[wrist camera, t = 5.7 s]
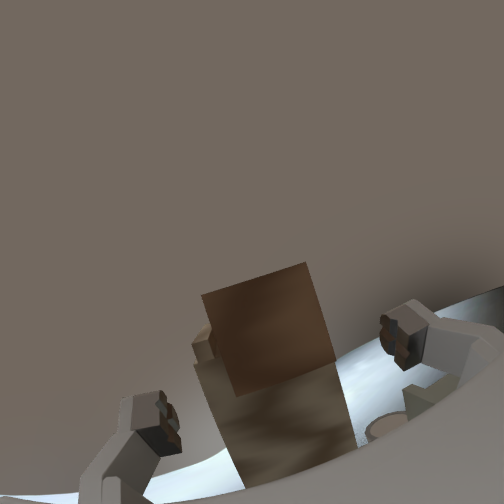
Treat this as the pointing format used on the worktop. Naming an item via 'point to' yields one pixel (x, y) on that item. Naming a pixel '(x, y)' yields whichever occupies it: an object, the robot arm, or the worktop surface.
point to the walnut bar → (269, 329)
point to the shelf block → (275, 418)
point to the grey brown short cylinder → (385, 424)
